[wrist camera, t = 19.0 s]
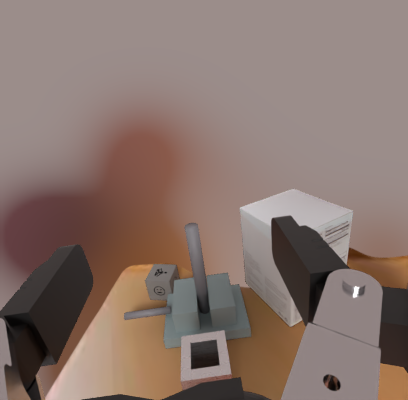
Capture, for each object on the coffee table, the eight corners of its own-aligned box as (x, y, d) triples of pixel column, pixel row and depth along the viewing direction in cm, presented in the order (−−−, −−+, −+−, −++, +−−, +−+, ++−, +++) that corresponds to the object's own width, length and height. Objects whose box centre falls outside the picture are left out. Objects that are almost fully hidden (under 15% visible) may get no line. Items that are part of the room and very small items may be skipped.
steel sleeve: (231, 380, 36) (224, 330, 32) (238, 426, 32) (231, 374, 27) (192, 386, 36) (181, 336, 32) (194, 433, 31) (180, 381, 27)
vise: (239, 291, 51) (231, 205, 44) (251, 336, 42) (243, 237, 35) (134, 306, 51) (108, 223, 44) (123, 354, 42) (87, 259, 34)
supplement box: (345, 295, 47) (356, 210, 40) (290, 329, 43) (291, 239, 36) (292, 259, 59) (293, 187, 51) (243, 282, 54) (237, 206, 47)
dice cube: (158, 282, 57) (154, 264, 55) (180, 283, 56) (176, 264, 54) (150, 299, 53) (144, 280, 51) (173, 301, 52) (169, 281, 50)
